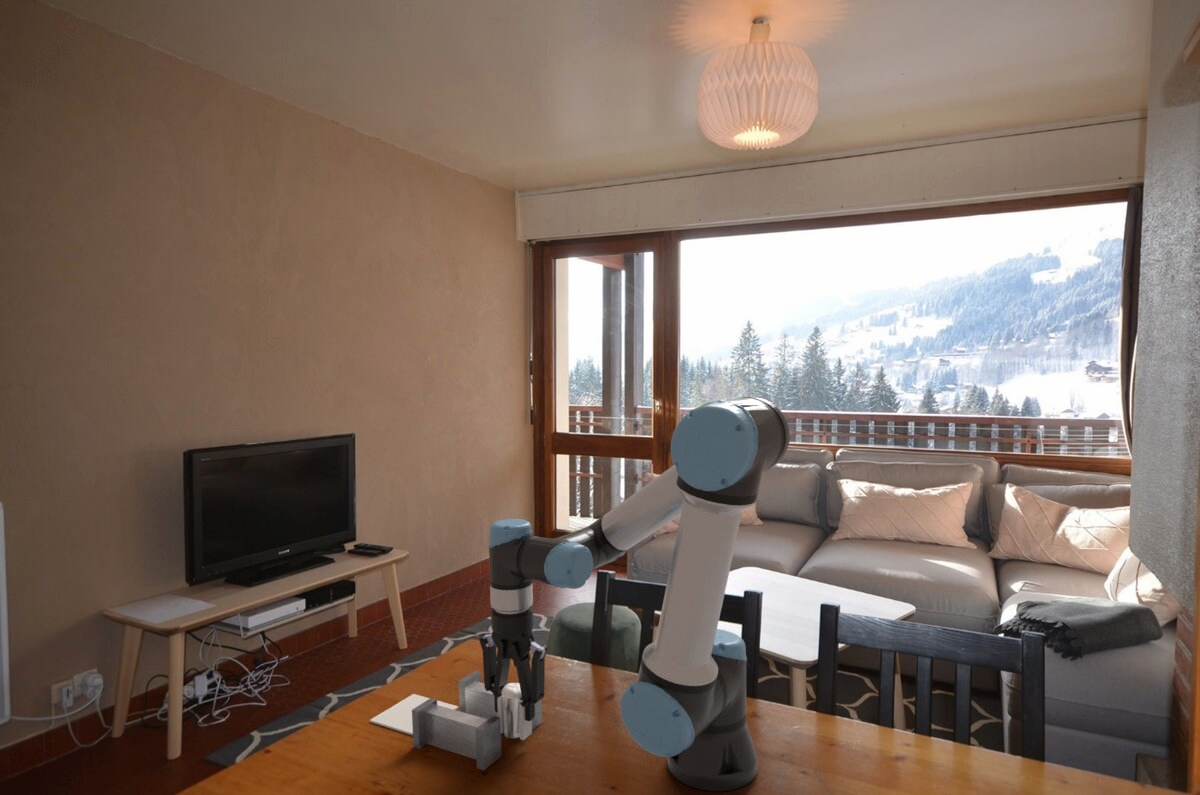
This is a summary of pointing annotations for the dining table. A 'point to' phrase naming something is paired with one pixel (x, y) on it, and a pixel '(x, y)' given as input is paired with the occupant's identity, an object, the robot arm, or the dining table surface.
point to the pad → (404, 714)
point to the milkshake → (511, 709)
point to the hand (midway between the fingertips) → (515, 732)
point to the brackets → (464, 723)
